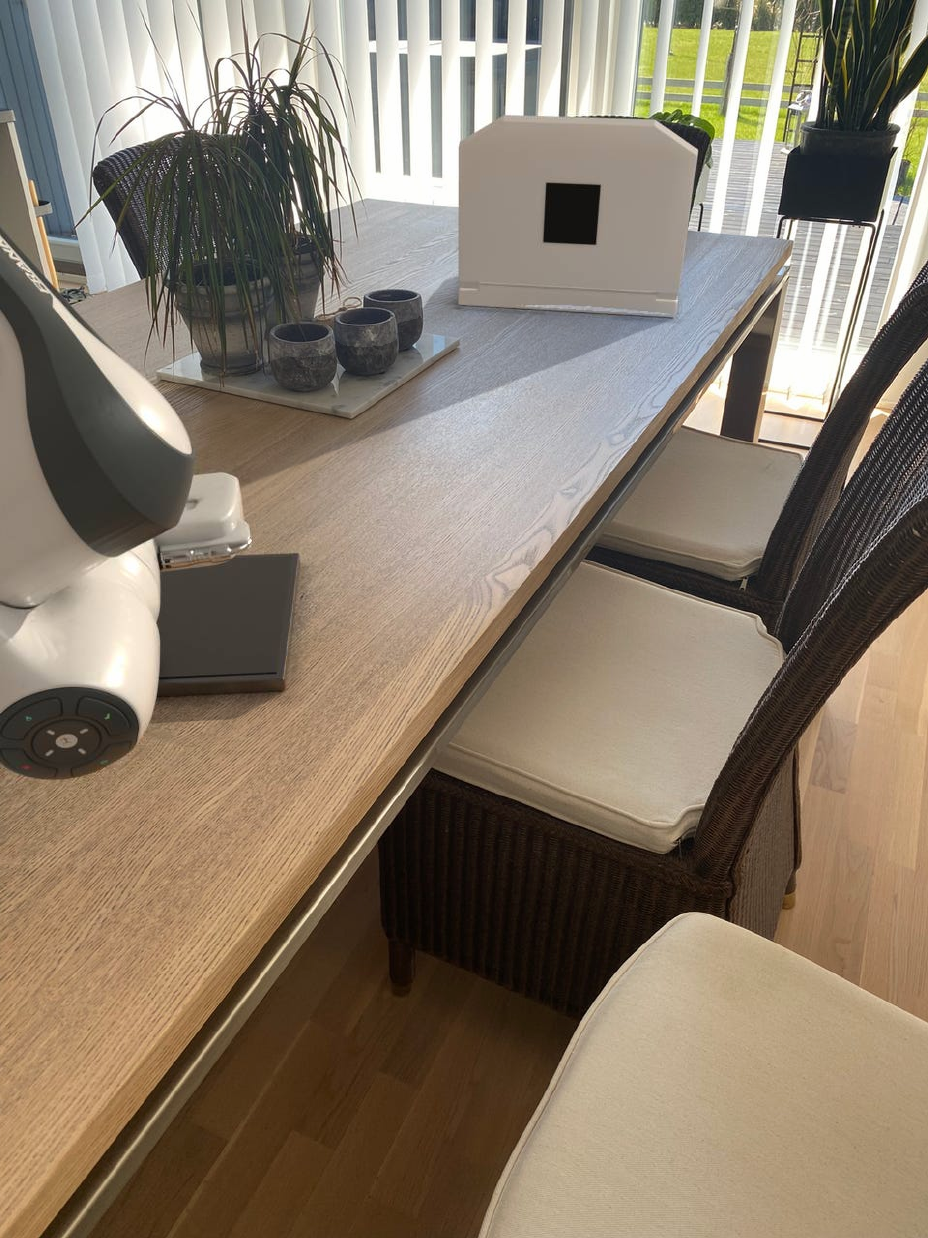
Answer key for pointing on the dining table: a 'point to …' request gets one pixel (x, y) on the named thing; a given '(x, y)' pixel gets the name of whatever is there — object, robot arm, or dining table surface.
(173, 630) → the tablet
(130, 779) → the dining table surface
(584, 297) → the white chamfered box
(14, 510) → the robot arm
